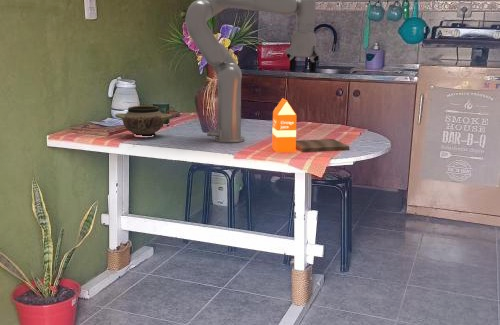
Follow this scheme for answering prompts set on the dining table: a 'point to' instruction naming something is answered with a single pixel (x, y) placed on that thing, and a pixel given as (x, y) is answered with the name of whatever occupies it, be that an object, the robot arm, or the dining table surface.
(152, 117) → the ceramic bowl
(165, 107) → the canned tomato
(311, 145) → the walnut board
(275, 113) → the orange juice
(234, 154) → the dining table surface
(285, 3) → the robot arm
